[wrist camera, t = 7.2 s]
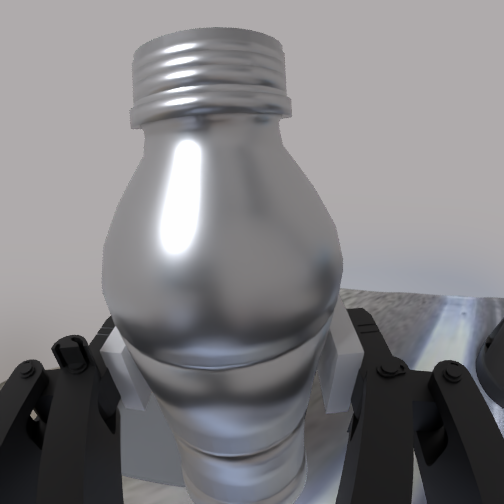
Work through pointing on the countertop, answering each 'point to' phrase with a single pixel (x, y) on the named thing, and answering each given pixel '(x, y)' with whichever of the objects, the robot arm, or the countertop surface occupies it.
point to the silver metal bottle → (223, 263)
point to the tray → (149, 446)
